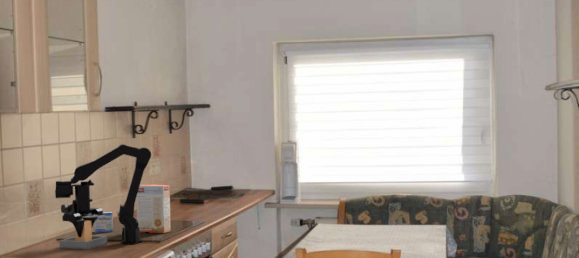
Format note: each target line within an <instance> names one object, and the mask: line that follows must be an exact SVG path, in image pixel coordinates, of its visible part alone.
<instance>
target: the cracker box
mask: <svg viewBox="0 0 579 258" xmlns="http://www.w3.org/2000/svg"><path fill="white" fill-rule="evenodd" d="M170 187H171V186H170V185H169V184H140V186H139V190H138V193H137V197H136V220H137V221H138V223H139V225H138V227H140V233H145V232H149V234H150V233H151V234H167V233H170V232H171V230H172V229H171V193H170V192H171V191H170V190H171V189H170Z"/></svg>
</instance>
